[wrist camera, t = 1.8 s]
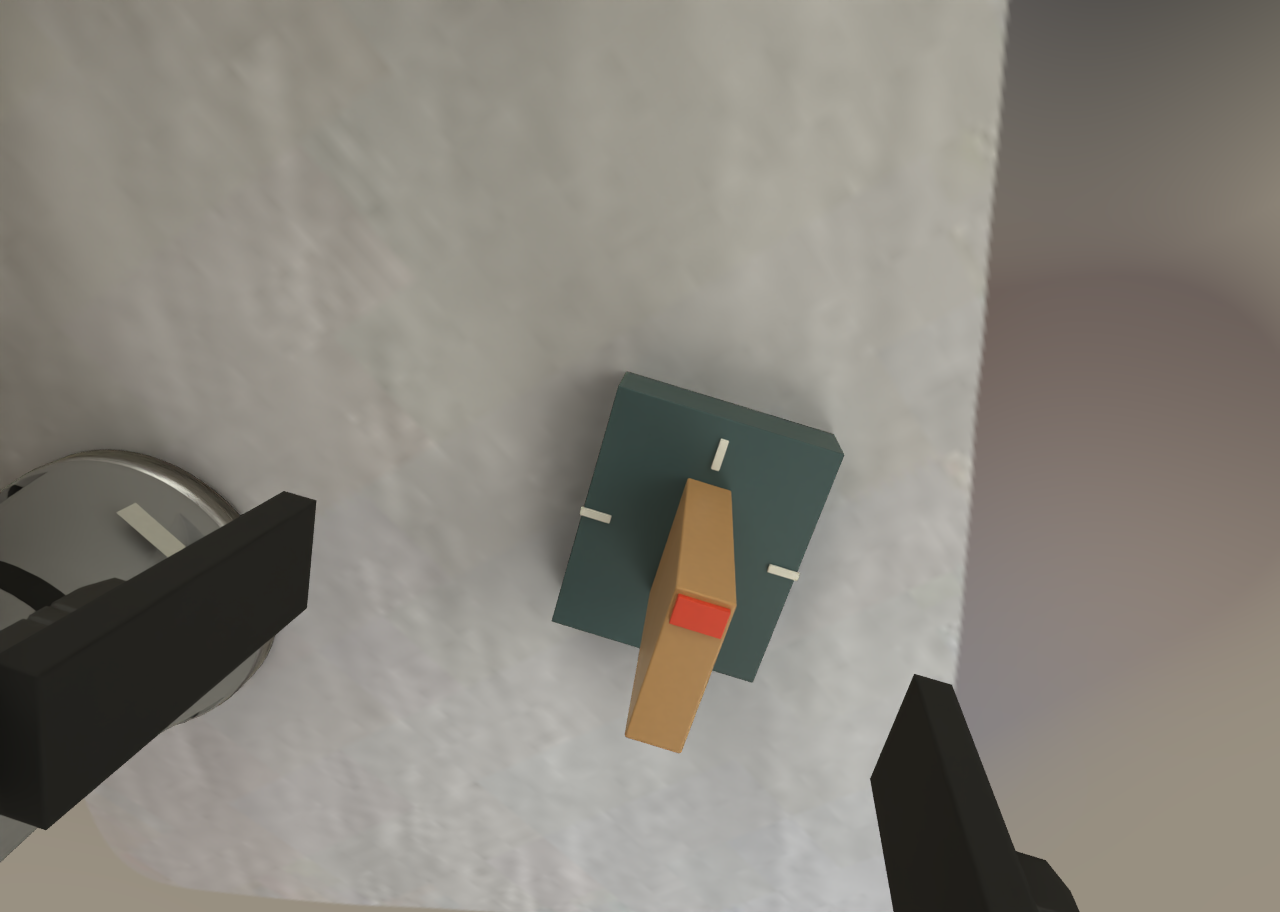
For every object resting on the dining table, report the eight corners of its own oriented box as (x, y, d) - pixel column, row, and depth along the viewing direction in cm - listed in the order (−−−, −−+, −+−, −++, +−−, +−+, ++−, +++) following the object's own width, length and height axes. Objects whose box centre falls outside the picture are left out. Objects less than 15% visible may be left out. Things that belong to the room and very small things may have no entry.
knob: (690, 606, 35) (680, 760, 25) (649, 593, 35) (623, 742, 25) (731, 490, 33) (737, 608, 23) (688, 477, 33) (675, 589, 23)
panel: (752, 649, 39) (754, 685, 36) (561, 590, 39) (548, 622, 36) (836, 434, 35) (847, 456, 32) (624, 370, 35) (615, 385, 32)
